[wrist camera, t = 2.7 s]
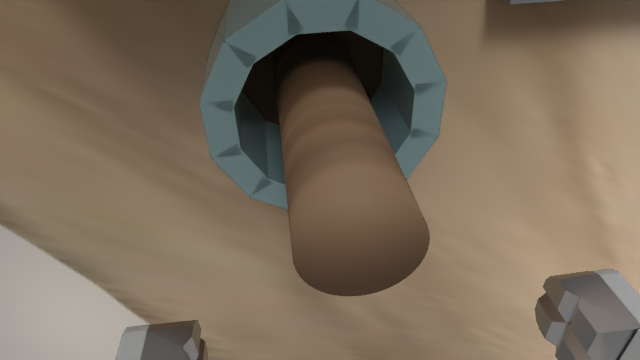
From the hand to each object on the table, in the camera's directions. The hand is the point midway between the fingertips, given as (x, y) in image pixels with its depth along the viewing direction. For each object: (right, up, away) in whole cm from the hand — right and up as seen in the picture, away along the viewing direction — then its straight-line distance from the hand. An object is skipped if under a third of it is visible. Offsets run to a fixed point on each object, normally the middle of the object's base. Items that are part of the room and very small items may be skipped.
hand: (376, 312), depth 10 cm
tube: (-2, +8, +11) cm, 14 cm away
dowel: (-2, +8, +11) cm, 14 cm away
